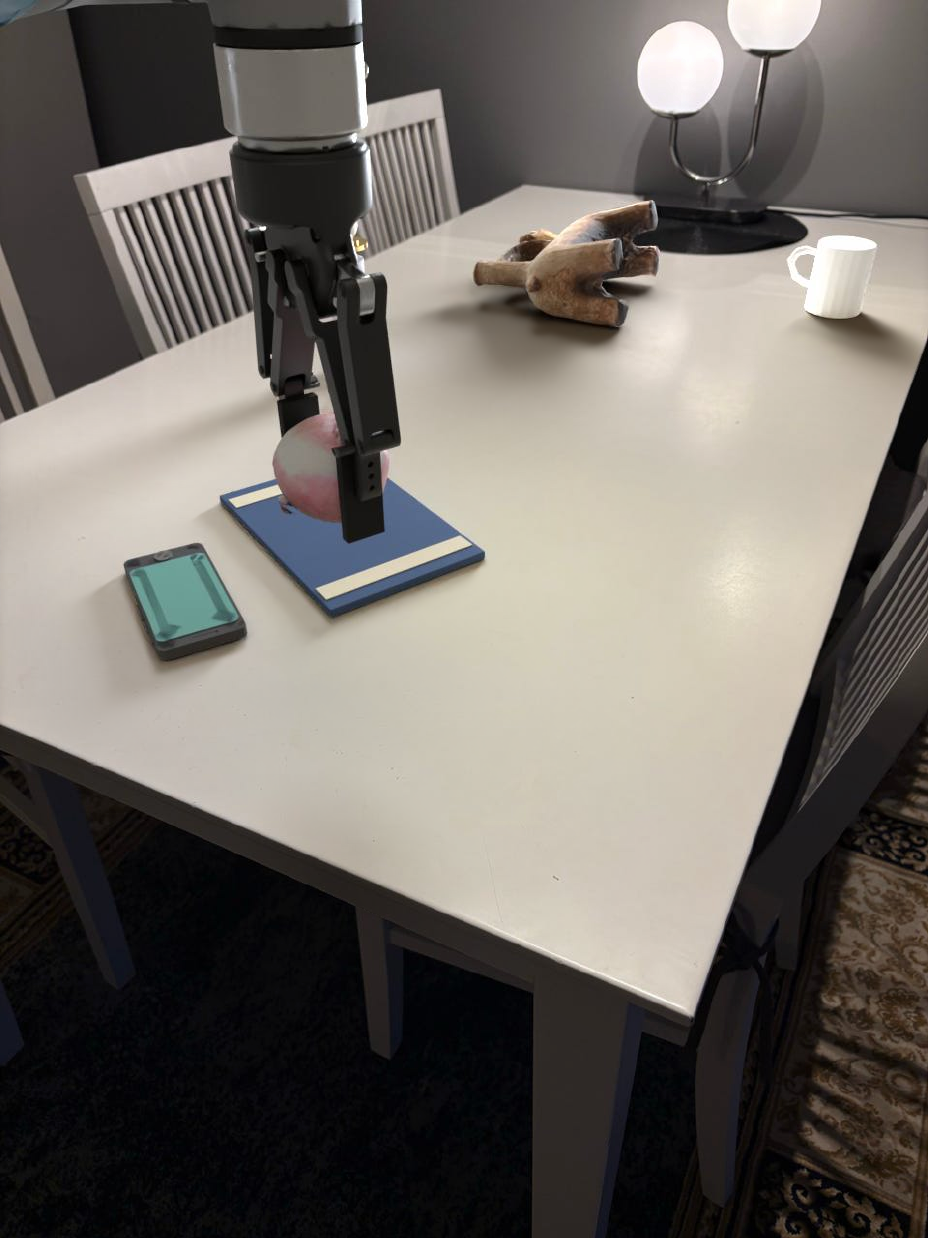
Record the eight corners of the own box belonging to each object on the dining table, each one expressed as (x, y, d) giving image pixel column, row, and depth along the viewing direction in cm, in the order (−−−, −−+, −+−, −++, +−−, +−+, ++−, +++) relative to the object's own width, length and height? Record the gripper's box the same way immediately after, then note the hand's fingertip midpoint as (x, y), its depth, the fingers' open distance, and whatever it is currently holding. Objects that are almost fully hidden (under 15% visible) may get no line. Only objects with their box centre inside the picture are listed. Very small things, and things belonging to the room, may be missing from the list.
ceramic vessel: (665, 181, 144) (516, 190, 154) (619, 249, 123) (449, 255, 132) (666, 263, 152) (524, 267, 162) (623, 340, 131) (463, 340, 140)
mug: (778, 297, 144) (791, 232, 138) (858, 304, 141) (875, 237, 135) (777, 314, 138) (791, 246, 132) (861, 321, 135) (879, 252, 129)
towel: (220, 502, 93) (218, 494, 92) (357, 460, 100) (357, 453, 99) (331, 618, 77) (330, 609, 76) (485, 558, 84) (485, 550, 83)
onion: (357, 552, 59) (349, 450, 54) (254, 528, 61) (238, 429, 57) (409, 495, 64) (405, 399, 60) (313, 476, 67) (302, 382, 62)
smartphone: (200, 539, 85) (247, 624, 74) (202, 550, 85) (249, 636, 75) (119, 559, 82) (155, 651, 71) (122, 571, 83) (158, 663, 72)
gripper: (463, 161, 44) (463, 560, 57) (282, 107, 57) (316, 439, 71) (322, 179, 40) (357, 598, 54) (165, 117, 54) (225, 464, 68)
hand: (334, 507), depth 62 cm, fingers closed on onion, 8 cm apart
